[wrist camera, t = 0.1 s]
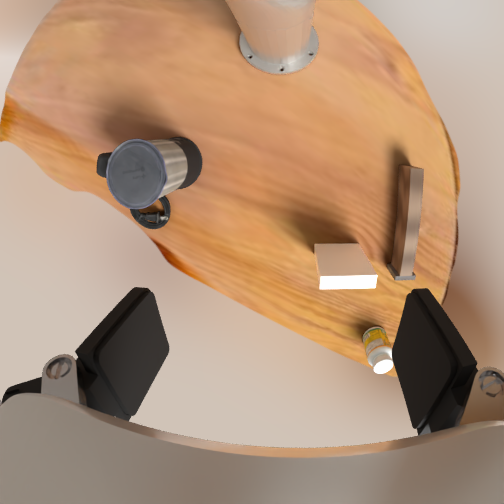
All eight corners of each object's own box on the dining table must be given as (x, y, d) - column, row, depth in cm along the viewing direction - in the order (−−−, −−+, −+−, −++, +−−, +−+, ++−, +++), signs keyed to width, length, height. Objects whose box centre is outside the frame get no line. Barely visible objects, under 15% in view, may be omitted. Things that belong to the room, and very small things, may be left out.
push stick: (394, 164, 39) (406, 167, 34) (415, 166, 38) (427, 169, 34) (386, 267, 46) (395, 280, 41) (405, 267, 45) (414, 279, 41)
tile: (314, 243, 46) (320, 276, 35) (359, 243, 45) (377, 275, 34) (314, 255, 47) (319, 290, 36) (358, 254, 46) (375, 289, 35)
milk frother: (200, 133, 42) (160, 131, 28) (211, 222, 48) (179, 256, 34) (130, 147, 44) (76, 154, 30) (142, 227, 50) (97, 258, 36)
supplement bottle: (360, 330, 52) (368, 362, 43) (383, 322, 51) (395, 353, 42) (364, 347, 54) (371, 379, 45) (386, 340, 52) (397, 370, 43)
